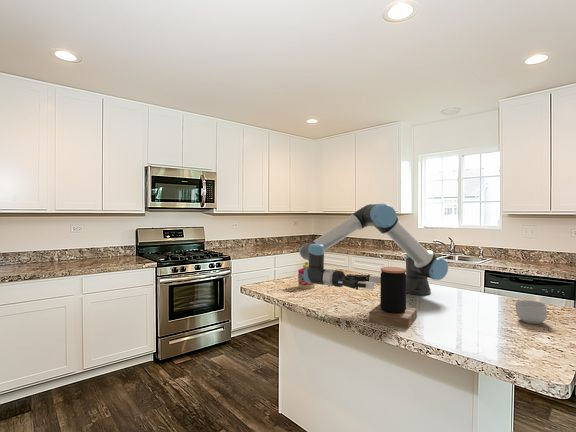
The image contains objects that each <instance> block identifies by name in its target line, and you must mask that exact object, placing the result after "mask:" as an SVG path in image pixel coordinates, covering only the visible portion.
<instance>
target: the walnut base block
mask: <svg viewBox="0 0 576 432" xmlns="http://www.w3.org/2000/svg"><path fill="white" fill-rule="evenodd" d="M417 312H418V309H417V308H415V307H407V306H406V310H405V312H404V313H400V314H393V313H387V312H384V311H383V310H382V309H381V307H380V303H379V304H378V305H376V307H374V308H372V309H371V310H370V311H369V312H368V321H369V323H376V324H380V325H387V326H392V327H395V328H396V327H397V328H403V329H409V328H410V327H411V325H413V323H414V322H415V320H417V317H418V315H417V314H418V313H417Z"/></svg>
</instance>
